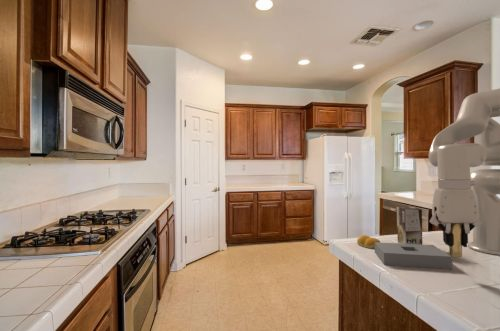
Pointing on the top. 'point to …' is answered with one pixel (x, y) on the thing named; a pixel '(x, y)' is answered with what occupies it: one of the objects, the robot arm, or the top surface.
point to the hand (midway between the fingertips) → (455, 244)
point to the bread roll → (367, 241)
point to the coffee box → (409, 225)
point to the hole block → (412, 255)
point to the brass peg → (456, 240)
